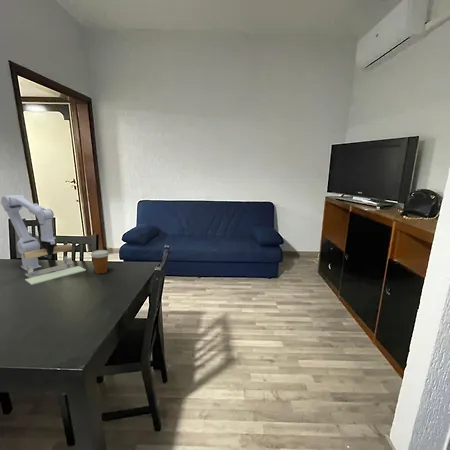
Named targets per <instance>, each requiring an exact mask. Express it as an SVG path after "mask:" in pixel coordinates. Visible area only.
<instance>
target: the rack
mask: <svg viewBox="0 0 450 450" xmlns="http://www.w3.org/2000/svg"><path fill="white" fill-rule="evenodd" d="M63 261H64V262H65V264H61V265H55V266H51V267H48V268H44V269H43V268H42V269H38V270H35V271H34V269H33V267H30V265H29V264H28V265H26V270H25V271H27V272H26V273H24V275H25V276H26V277H27V278H33V277H37V276H41V275H45V274H49V273H53V272H57V271H61V270H65V269H69V268H73V267H74V265H72V264H71V263H72V258H71V257H68V256H67V255H65V256H63Z"/></svg>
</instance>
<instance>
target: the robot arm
mask: <svg viewBox="0 0 450 450" xmlns="http://www.w3.org/2000/svg"><path fill="white" fill-rule="evenodd" d="M0 204H1V205H2V207H3V209H4V210H3V211H5V212H6V213H7V216H8V218H9V220H10V222H11V224H12V226H13V228H14V230H15V232H16V234H17V237H18V241H17V243H16V246H17V251H18V253H19V254H20V255H21V258H20V259H21V264H22V265H20V267H21V268H22V269H23V270H25V271H27V270H26V265H28V264H29V265H30V267H33V270H35V269H38V268H42V265H40V264H39V258H38V257H34V258H29V259H25V258H24V255H23V253H24V252H30V251H35V250H40V249H41V246H42V249H47V253H48V255H47V256H51V255H53V250H54V247H56V245H57V242H56V239H57V238H56V237H55V236H54V230H53V219H54V216H55V214H54V210H52V209H50V208H45V207H42V206H41V205H39V204H38V203H32V202H31V201H29V200H28V199H27V198H26V197H25V195H23V194H22V193H19V194H10V195H8V194H7V195H3V196H1V201H0ZM23 208H25V209H27V210H28V212H29V213H30V214H32V215H33V216H36V219H37V220H38V223H39V227H40V234H41V235H40V240H41V242H39V241H38V240H37V238H36V237H34V236H31V234H30V232H29V231H28V228H27V226H26V224H25V222H24V221H23V218H22V217H21V214H20V210H22V209H23Z"/></svg>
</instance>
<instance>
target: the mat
mask: <svg viewBox="0 0 450 450" xmlns="http://www.w3.org/2000/svg"><path fill="white" fill-rule="evenodd" d="M86 271H87V270H86V268H83V267H82V266H80V265H77V266H73V268H69V269H65V270H61V271H57V272H53V273H49V274H45V275H41V276H37V277H33V278H29V277H27V278H25V279H24V280H25V282H27V283H28V284H30V285H31V286H32V285H38V284H40V283H44V282H48V281H52V280H55V279H59V278H64V277H68V276H71V275H74V274H78V273H82V272H86Z"/></svg>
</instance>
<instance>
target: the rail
mask: <svg viewBox="0 0 450 450" xmlns="http://www.w3.org/2000/svg"><path fill="white" fill-rule="evenodd" d="M72 250H73V245H72V244H70V243H68V244H63V245H57V246H56V245H55V247H54V250H53V254H59V253H64V252H68V251H72ZM23 255H24V258H25V259H29V258H34V257H44V256H49V255H48V253H47V249H44V248H40V249H39V250H35V251H30V252H24V253H23Z"/></svg>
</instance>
